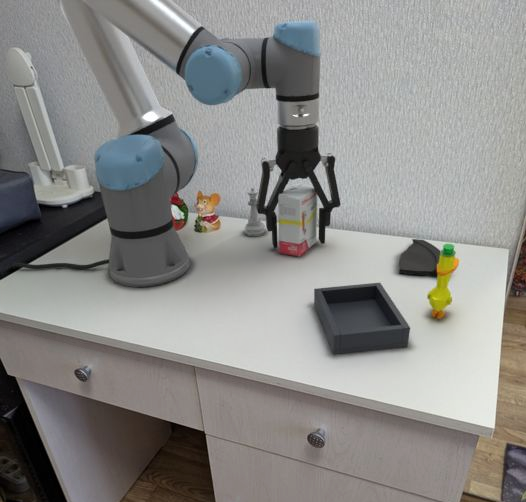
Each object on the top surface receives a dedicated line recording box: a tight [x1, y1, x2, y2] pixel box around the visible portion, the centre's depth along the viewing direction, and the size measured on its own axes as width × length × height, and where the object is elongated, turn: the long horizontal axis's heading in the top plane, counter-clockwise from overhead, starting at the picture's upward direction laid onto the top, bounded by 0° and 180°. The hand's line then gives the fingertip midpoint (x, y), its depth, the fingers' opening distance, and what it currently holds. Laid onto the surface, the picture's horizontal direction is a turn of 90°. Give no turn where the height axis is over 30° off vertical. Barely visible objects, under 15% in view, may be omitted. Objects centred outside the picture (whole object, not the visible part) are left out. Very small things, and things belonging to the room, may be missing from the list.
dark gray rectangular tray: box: [313, 282, 411, 355], centre depth 76 cm, size 11×14×3 cm
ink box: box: [277, 183, 319, 258], centre depth 98 cm, size 9×5×12 cm, turn 150°
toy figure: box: [426, 243, 460, 320], centre depth 75 cm, size 7×4×12 cm, turn 142°
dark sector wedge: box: [398, 238, 441, 277], centre depth 94 cm, size 8×14×2 cm, turn 163°
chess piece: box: [244, 187, 266, 237], centre depth 106 cm, size 4×4×10 cm
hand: (298, 243), depth 101 cm, fingers open, 9 cm apart
